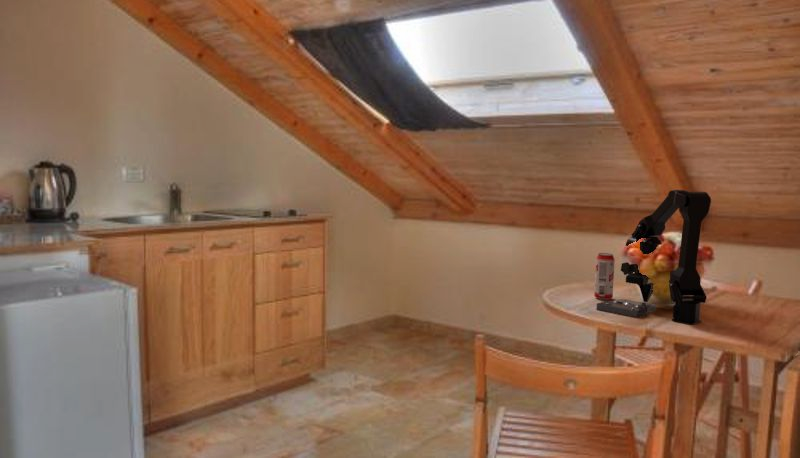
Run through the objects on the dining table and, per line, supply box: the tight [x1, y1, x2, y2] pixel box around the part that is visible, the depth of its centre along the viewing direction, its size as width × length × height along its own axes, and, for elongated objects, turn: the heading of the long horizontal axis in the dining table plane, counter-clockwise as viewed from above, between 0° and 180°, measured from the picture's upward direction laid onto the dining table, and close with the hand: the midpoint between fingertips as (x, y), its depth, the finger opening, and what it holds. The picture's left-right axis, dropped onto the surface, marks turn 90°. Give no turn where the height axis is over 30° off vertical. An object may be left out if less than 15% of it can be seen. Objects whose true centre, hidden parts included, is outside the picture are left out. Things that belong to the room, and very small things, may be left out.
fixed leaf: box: [596, 300, 647, 318], centre depth 206 cm, size 14×8×2 cm, turn 42°
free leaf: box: [614, 298, 657, 314], centre depth 210 cm, size 12×8×2 cm
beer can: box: [594, 252, 616, 301], centre depth 225 cm, size 6×6×16 cm
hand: (645, 301), depth 217 cm, fingers closed
